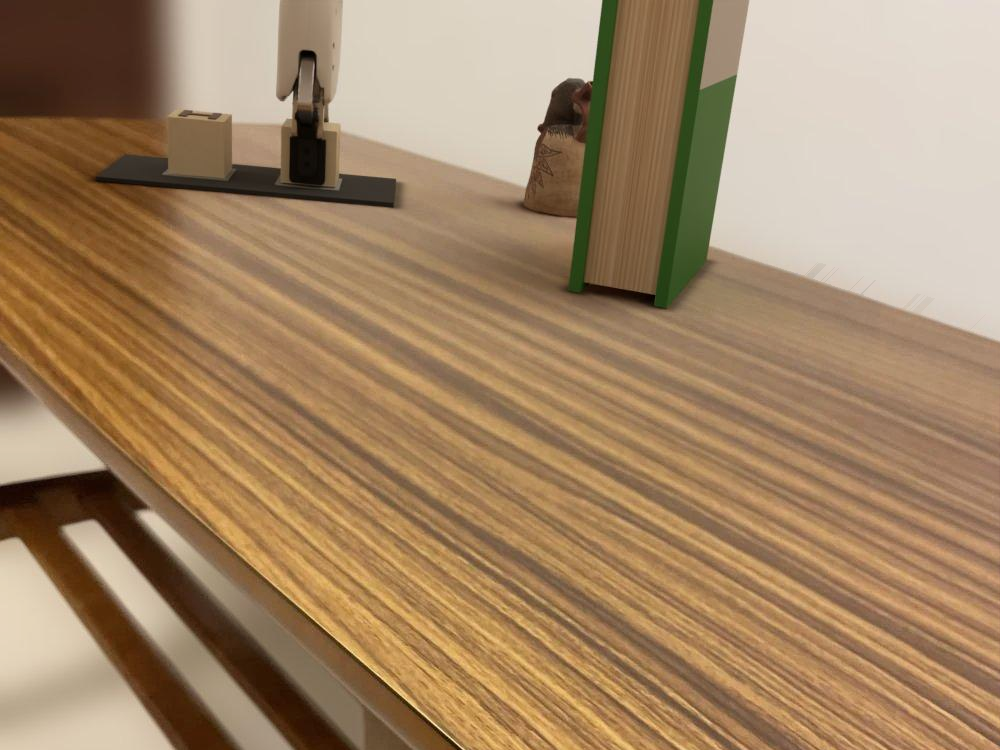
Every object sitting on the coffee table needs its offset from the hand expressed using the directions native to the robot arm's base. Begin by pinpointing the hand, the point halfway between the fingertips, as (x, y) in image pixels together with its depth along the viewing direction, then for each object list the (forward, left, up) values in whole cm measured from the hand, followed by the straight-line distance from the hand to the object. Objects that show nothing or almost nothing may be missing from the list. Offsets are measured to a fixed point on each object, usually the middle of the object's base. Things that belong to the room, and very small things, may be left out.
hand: (309, 175), depth 115 cm
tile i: (0, 0, 0) cm, 0 cm away
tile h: (-10, 0, -1) cm, 10 cm away
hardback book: (+28, -24, -1) cm, 37 cm away
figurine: (+24, 0, -1) cm, 24 cm away
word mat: (-5, 0, -1) cm, 5 cm away
